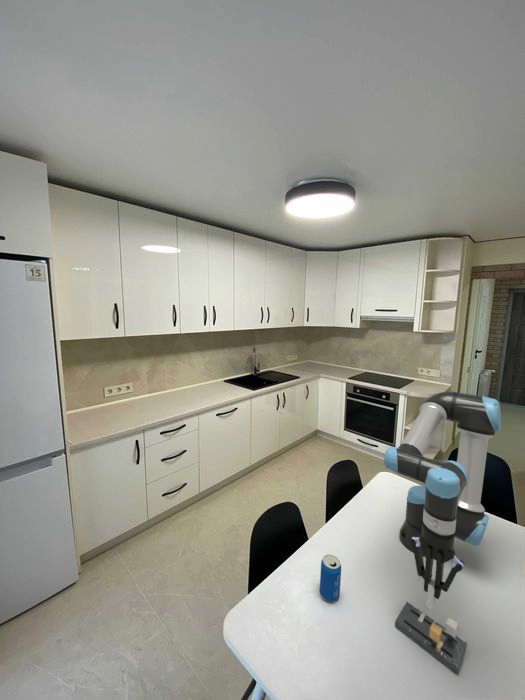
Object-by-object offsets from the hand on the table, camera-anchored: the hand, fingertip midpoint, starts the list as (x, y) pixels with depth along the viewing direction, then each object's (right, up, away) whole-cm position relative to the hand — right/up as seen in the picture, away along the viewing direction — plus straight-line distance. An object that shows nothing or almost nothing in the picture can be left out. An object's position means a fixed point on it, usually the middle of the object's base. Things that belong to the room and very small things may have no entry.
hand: (430, 604), depth 81 cm
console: (+1, -12, +3) cm, 12 cm away
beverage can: (-25, -10, +15) cm, 31 cm away
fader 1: (+1, -10, -1) cm, 10 cm away
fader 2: (+6, -10, +1) cm, 12 cm away
